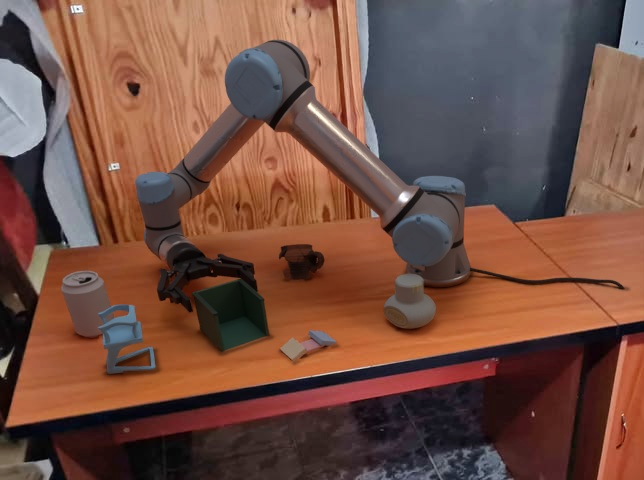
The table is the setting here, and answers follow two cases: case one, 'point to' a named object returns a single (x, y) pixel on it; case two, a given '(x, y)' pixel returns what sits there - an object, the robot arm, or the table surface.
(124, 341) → the chair
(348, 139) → the robot arm
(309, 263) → the pottery mug
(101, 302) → the can
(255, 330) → the open box
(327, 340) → the blue packet
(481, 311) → the table surface
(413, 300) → the air freshener
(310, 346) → the block
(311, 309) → the table surface
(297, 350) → the block
